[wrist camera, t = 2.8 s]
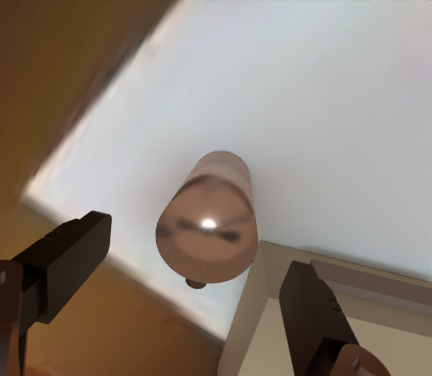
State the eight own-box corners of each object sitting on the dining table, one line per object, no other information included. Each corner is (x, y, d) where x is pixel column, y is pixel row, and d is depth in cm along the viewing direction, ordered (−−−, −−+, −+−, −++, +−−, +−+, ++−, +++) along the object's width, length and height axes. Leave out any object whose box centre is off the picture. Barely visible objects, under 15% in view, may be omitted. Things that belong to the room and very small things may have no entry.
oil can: (198, 144, 20) (163, 181, 11) (256, 158, 20) (271, 208, 11) (184, 218, 23) (144, 301, 13) (235, 231, 23) (232, 323, 13)
